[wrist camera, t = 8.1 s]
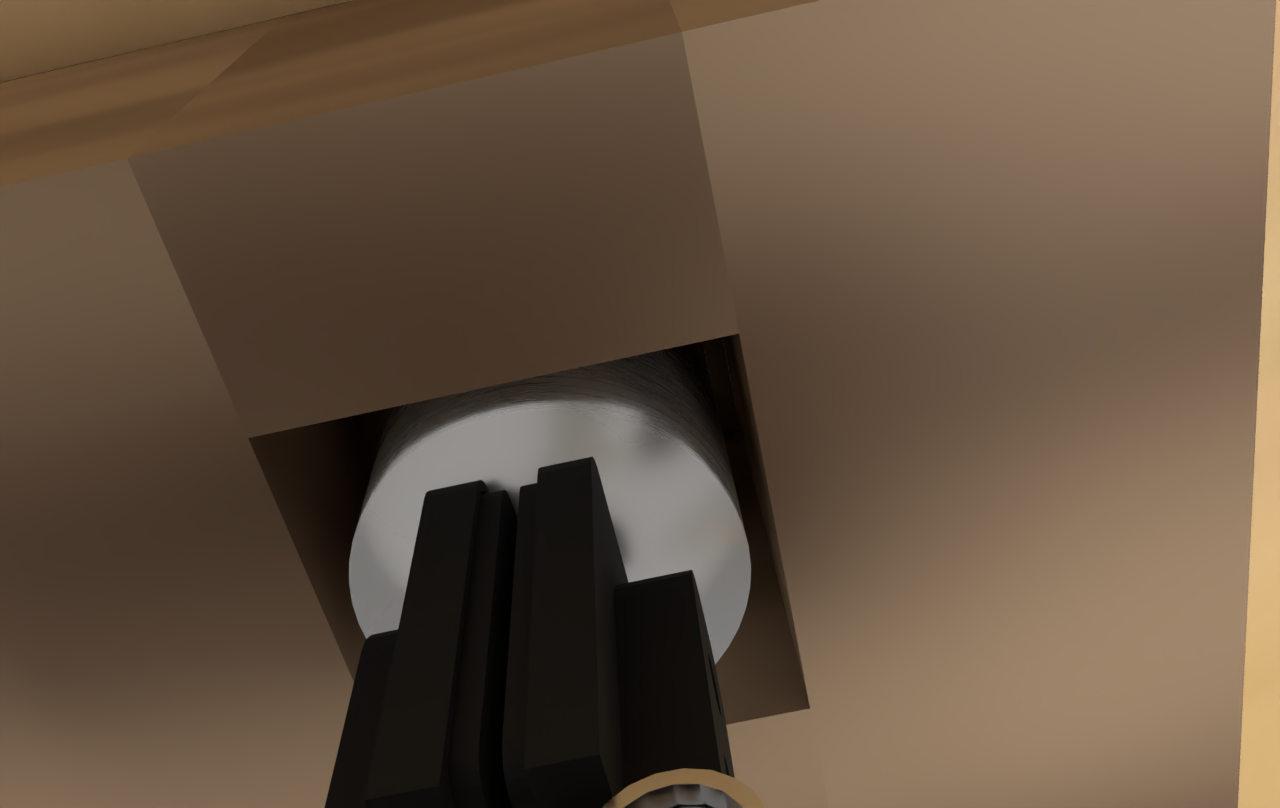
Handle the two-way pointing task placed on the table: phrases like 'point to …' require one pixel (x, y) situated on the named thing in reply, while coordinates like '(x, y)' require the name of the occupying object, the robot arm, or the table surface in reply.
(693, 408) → the peg
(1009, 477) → the walnut block
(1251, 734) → the table surface
